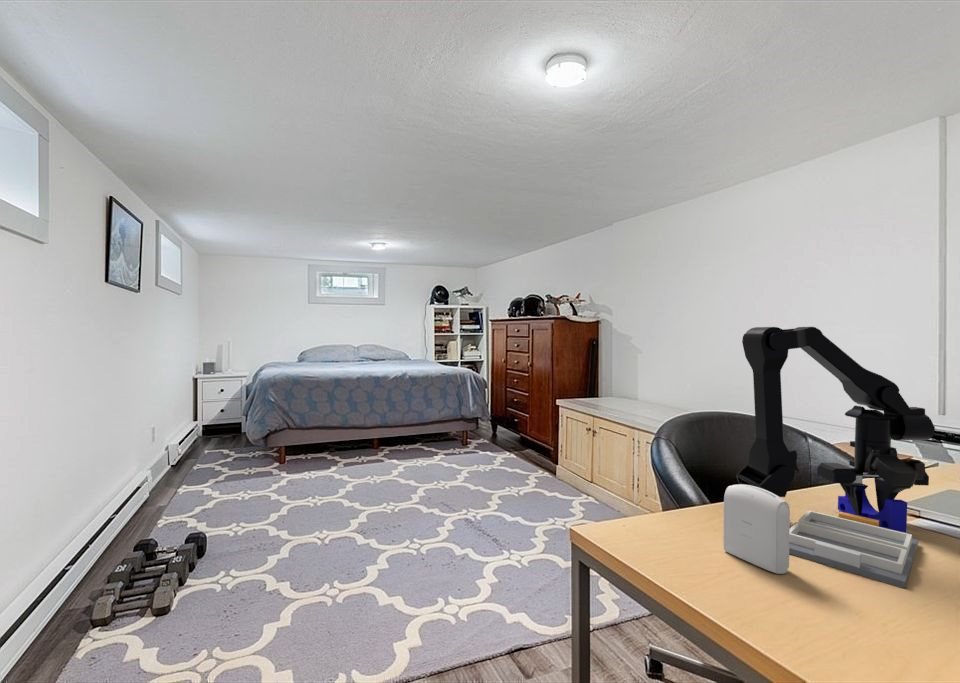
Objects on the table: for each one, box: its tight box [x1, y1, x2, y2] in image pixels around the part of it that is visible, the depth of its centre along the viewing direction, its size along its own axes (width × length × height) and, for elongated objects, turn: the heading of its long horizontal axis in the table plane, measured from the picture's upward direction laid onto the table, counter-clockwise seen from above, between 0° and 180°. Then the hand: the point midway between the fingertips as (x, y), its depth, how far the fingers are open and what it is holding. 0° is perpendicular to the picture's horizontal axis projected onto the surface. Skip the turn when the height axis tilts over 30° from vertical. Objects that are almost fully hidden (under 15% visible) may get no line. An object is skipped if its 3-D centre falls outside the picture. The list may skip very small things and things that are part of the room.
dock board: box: [789, 509, 919, 589], centre depth 86 cm, size 22×17×3 cm
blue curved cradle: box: [837, 489, 908, 533], centre depth 98 cm, size 12×4×6 cm, turn 179°
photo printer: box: [723, 483, 791, 575], centre depth 80 cm, size 10×4×12 cm, turn 26°
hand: (870, 515), depth 98 cm, fingers closed on blue curved cradle, 4 cm apart
